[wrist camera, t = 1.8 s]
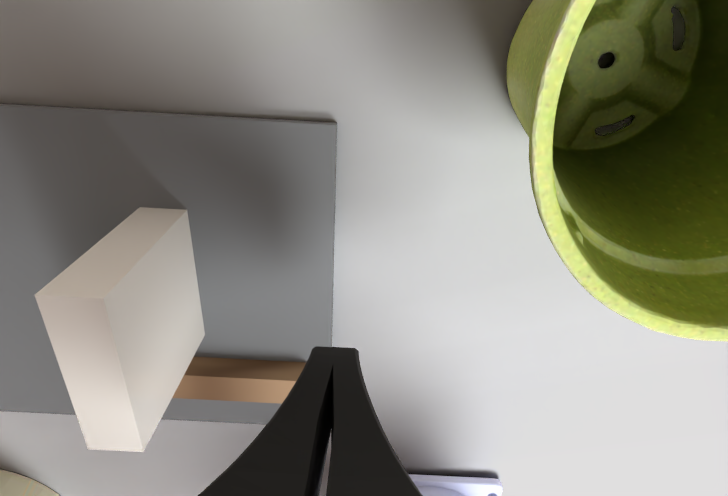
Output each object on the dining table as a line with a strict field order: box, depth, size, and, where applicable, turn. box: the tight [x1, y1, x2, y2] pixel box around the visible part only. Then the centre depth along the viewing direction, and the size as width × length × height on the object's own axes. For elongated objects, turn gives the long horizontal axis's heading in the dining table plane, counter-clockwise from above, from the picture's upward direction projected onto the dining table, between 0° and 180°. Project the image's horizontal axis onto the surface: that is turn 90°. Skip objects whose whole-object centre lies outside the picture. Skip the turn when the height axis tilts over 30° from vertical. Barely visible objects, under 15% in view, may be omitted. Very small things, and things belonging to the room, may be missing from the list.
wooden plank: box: [172, 357, 306, 404], centre depth 20 cm, size 11×3×1 cm, turn 87°
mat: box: [0, 104, 337, 424], centre depth 19 cm, size 15×17×1 cm
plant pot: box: [507, 0, 728, 341], centre depth 11 cm, size 9×9×9 cm
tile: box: [35, 207, 205, 452], centre depth 16 cm, size 6×2×6 cm, turn 177°
